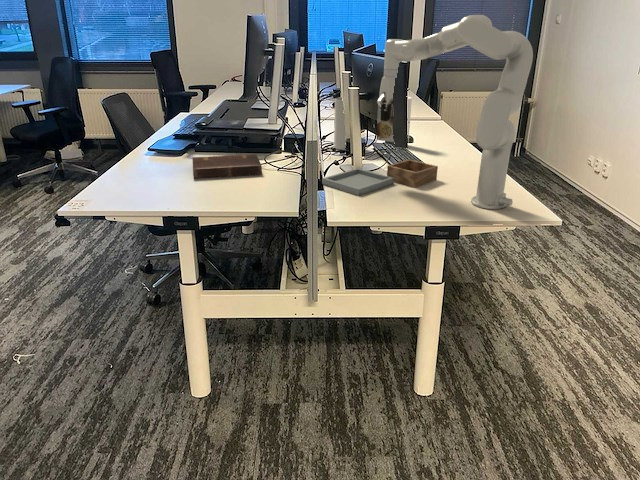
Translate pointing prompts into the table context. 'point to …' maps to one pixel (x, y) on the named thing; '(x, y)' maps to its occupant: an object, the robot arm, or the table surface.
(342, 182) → the slate tray
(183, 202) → the table surface
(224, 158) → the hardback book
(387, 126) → the coffee box
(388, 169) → the walnut sleeve
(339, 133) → the cylinder vase
